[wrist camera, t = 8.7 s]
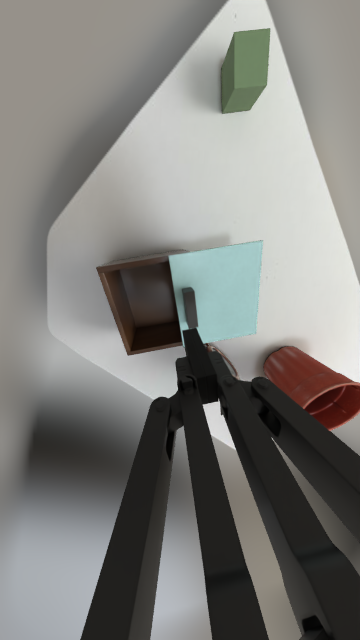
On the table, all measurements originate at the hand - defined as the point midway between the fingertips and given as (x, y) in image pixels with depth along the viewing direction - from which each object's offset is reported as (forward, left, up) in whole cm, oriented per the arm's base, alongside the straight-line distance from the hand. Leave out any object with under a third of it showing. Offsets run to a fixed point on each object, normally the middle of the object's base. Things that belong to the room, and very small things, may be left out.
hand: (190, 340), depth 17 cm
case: (0, -4, -21) cm, 21 cm away
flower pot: (+28, +29, -21) cm, 46 cm away
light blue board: (0, +7, -11) cm, 13 cm away
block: (-28, +14, -21) cm, 38 cm away
